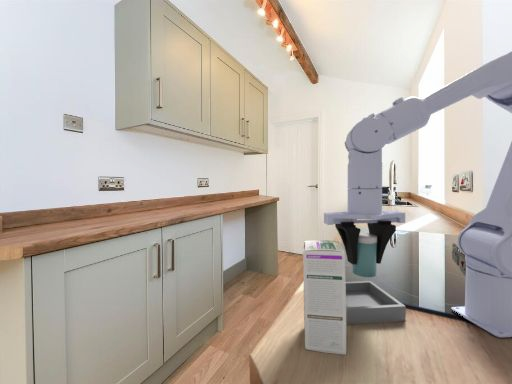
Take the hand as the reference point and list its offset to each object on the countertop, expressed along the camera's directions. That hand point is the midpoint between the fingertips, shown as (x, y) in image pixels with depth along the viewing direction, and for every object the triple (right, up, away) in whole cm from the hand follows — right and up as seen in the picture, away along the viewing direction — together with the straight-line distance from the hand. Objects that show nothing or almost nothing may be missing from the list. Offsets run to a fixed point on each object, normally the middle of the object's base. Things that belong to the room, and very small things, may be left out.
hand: (363, 262), depth 43 cm
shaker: (0, -2, 0) cm, 2 cm away
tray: (0, -9, +1) cm, 9 cm away
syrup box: (-10, -10, -8) cm, 16 cm away
